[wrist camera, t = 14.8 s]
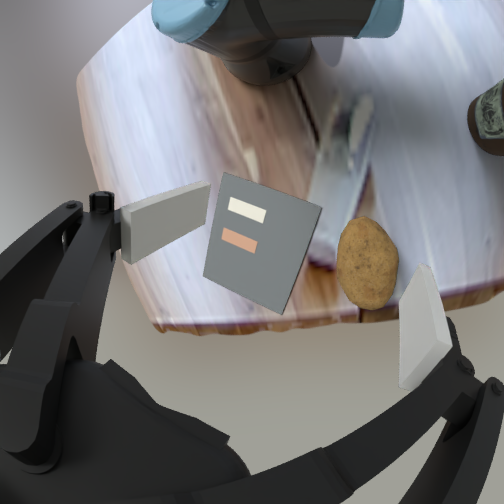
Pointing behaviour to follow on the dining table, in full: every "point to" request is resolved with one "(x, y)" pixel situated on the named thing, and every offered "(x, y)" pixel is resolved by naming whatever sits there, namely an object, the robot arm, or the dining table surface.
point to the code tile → (258, 241)
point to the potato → (367, 263)
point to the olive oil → (488, 120)
